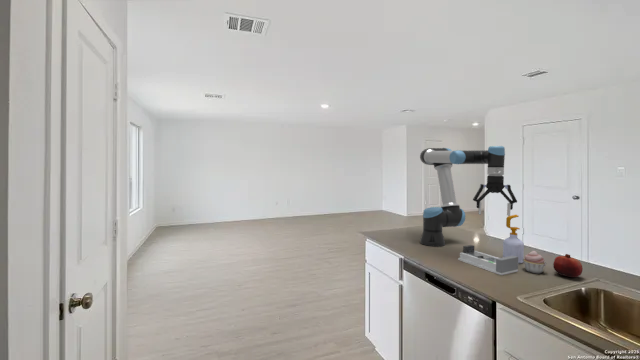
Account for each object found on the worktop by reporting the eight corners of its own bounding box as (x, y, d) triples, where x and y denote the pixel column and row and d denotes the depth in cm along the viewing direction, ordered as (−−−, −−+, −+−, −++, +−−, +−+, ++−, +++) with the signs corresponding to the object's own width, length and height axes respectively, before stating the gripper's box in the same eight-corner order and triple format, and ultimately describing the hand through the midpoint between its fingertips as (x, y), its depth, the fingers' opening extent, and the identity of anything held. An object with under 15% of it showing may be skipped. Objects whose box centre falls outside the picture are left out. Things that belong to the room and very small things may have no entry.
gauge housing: (458, 259, 156) (458, 247, 156) (474, 257, 161) (474, 244, 160) (501, 275, 134) (501, 260, 134) (518, 271, 139) (518, 256, 138)
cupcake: (551, 274, 135) (552, 253, 134) (534, 275, 133) (534, 254, 133) (533, 267, 144) (534, 247, 143) (517, 268, 142) (517, 248, 142)
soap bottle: (526, 264, 148) (528, 216, 147) (507, 263, 150) (508, 216, 149) (518, 258, 157) (519, 213, 156) (500, 257, 159) (500, 213, 158)
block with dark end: (458, 257, 156) (459, 246, 155) (471, 255, 159) (471, 244, 159) (480, 265, 144) (480, 253, 143) (493, 262, 147) (493, 251, 147)
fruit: (547, 272, 138) (547, 251, 137) (568, 272, 137) (569, 251, 137) (565, 280, 127) (566, 258, 126) (588, 280, 127) (589, 258, 126)
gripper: (470, 175, 154) (469, 214, 155) (525, 176, 146) (523, 217, 147) (468, 174, 161) (466, 212, 162) (520, 175, 153) (518, 214, 154)
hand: (493, 215), depth 155 cm, fingers open, 13 cm apart
